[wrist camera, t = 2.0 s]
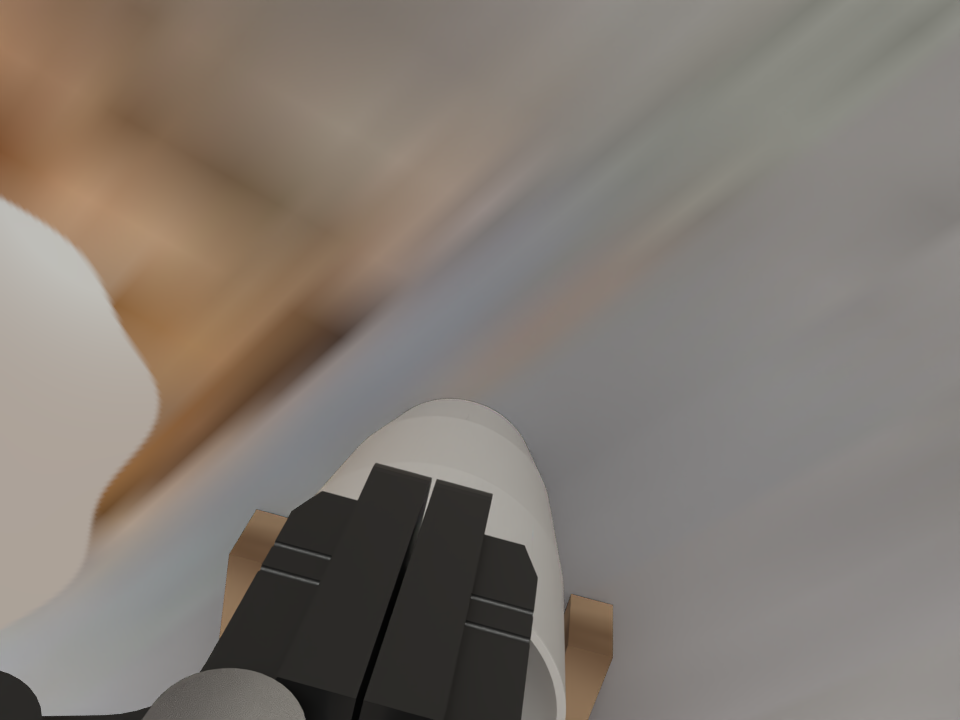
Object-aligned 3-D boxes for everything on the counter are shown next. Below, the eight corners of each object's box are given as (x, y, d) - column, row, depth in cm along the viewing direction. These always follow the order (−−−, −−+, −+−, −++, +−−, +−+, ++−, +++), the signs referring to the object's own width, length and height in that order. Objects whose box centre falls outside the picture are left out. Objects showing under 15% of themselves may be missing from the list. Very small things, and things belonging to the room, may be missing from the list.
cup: (293, 410, 29) (154, 620, 20) (509, 315, 27) (458, 507, 18) (413, 590, 32) (337, 844, 23) (620, 518, 29) (624, 774, 21)
